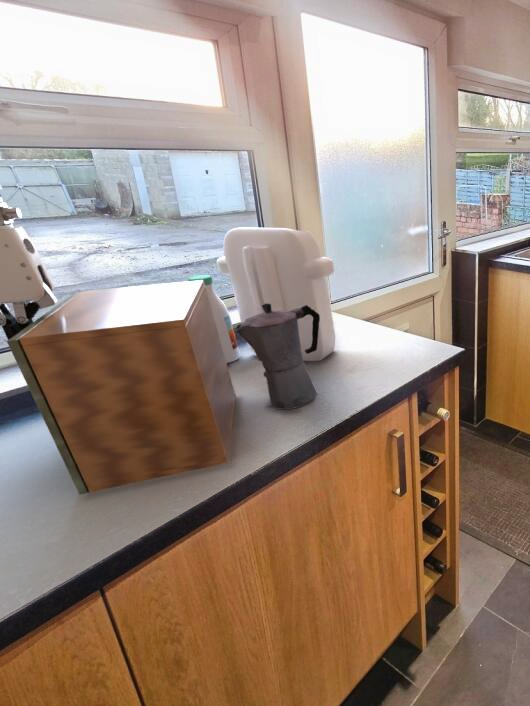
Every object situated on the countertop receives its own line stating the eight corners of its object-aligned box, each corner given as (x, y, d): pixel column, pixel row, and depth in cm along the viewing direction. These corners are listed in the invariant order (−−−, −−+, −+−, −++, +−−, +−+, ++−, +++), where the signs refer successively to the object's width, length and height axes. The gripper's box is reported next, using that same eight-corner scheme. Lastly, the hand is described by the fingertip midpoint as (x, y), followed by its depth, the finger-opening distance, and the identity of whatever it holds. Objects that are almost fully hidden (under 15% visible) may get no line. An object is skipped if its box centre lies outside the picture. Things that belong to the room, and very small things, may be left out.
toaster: (226, 359, 119) (190, 230, 106) (257, 343, 129) (227, 223, 116) (328, 368, 113) (303, 233, 101) (352, 350, 123) (332, 225, 110)
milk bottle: (230, 365, 115) (206, 280, 107) (197, 366, 115) (171, 281, 107) (246, 353, 122) (225, 272, 114) (215, 353, 122) (192, 273, 114)
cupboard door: (28, 505, 70) (-56, 348, 60) (85, 422, 91) (30, 296, 81) (87, 492, 72) (16, 339, 62) (129, 414, 94) (81, 291, 84)
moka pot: (246, 404, 97) (219, 306, 89) (319, 380, 108) (302, 289, 99) (267, 420, 92) (240, 316, 83) (342, 393, 102) (325, 298, 93)
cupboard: (89, 492, 72) (18, 338, 62) (130, 415, 94) (82, 291, 84) (227, 463, 79) (183, 319, 69) (236, 397, 101) (203, 279, 90)
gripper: (51, 213, 72) (96, 333, 80) (-89, 218, 66) (-26, 346, 74) (31, 218, 66) (82, 348, 73) (-126, 225, 60) (-53, 364, 68)
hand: (28, 347), depth 74 cm, fingers closed
